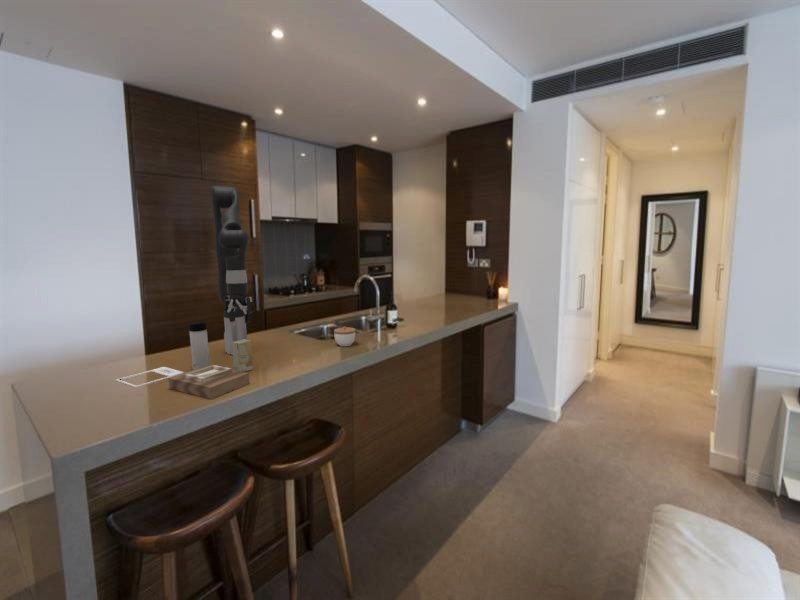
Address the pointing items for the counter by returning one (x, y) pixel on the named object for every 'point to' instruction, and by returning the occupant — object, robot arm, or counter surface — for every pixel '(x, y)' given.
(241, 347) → the skincare box
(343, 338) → the lidded jar
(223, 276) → the robot arm
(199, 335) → the travel mug
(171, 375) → the photo frame
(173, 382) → the display stand
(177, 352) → the counter surface
